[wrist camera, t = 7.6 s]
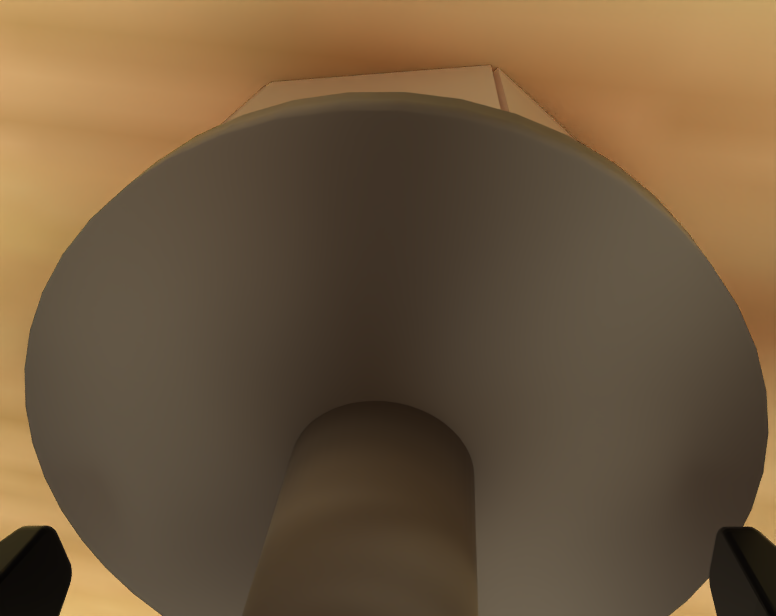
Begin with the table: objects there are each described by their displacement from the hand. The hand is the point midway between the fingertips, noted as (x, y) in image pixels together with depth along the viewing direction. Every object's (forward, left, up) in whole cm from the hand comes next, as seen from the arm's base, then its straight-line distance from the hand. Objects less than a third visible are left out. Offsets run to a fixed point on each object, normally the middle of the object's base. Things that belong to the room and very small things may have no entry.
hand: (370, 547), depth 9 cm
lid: (0, 0, -2) cm, 2 cm away
